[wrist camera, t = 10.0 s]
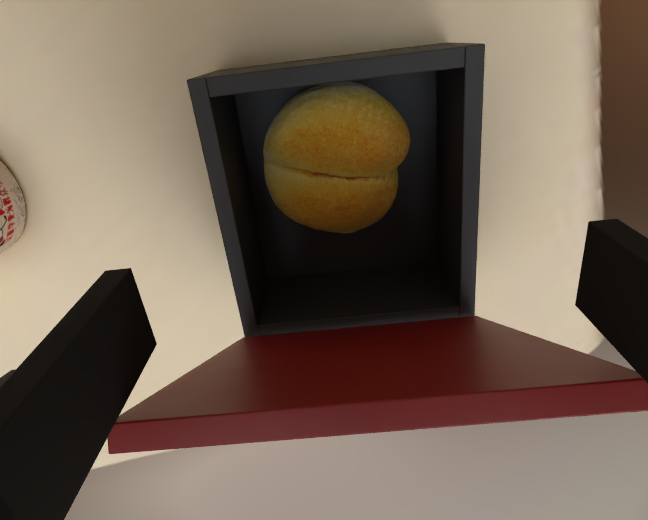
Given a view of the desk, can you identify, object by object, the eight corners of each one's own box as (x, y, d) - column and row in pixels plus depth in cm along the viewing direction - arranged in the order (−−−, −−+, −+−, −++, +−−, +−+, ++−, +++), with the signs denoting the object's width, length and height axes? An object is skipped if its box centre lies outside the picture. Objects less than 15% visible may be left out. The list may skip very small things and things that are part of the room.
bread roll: (421, 87, 25) (430, 115, 22) (383, 220, 31) (387, 258, 28) (271, 62, 25) (259, 87, 21) (261, 202, 30) (251, 238, 27)
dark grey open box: (217, 70, 27) (186, 79, 21) (448, 42, 27) (485, 43, 21) (259, 284, 34) (245, 339, 28) (446, 266, 33) (474, 318, 27)
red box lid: (105, 423, 12) (108, 455, 12) (657, 377, 11) (660, 410, 11) (243, 337, 27) (244, 350, 27) (476, 315, 27) (477, 329, 27)
